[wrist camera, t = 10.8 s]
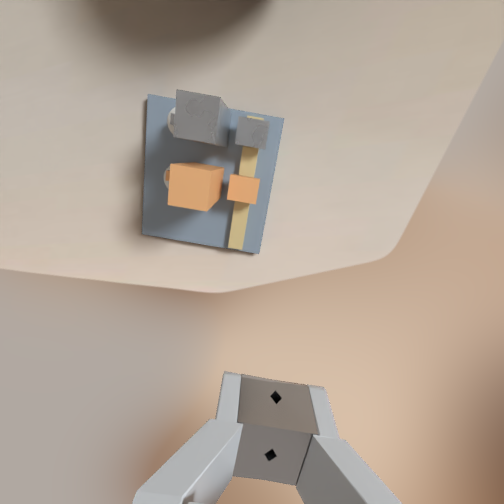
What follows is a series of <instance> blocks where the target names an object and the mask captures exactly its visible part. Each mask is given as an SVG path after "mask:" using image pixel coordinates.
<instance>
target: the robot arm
mask: <svg viewBox="0 0 504 504" xmlns="http://www.w3.org/2000/svg"><path fill="white" fill-rule="evenodd" d="M232 476H236V477H245V478H253V479H262V480H268V481H273V482H279V483H284V484H290V485H295V486H296V489H297V490H298V492H299V494H300V496H301V498H302V500H303V502H304V504H402V503H401V502H400V501H399V499H398V498H397V497H396V496H395V495H394V494H393V493H392V492H391V491H390V489H389V488H388V487H387V486H386V485H385V484H384V483H383V482H382V481H381V479H380V478H379V477H378V476H377V475H376V474H375V472H374V471H373V470H372V469H371V468H370V467H369V466H368V465H367V464H366V462H365V461H364V460H363V459H362V458H361V457H360V456H359V455H358V454H357V452H356V451H355V450H354V449H353V448H352V447H351V446H350V444H349V443H348V442H347V441H346V440H343V439H340V438H339V434H338V431H337V427H336V423H335V420H334V416H333V413H332V409H331V406H330V402H329V399H328V395H327V392H326V389H325V388H324V387H321V386H313V385H305V384H298V383H291V382H285V381H278V380H272V379H266V378H261V377H255V376H250V375H244V374H237V373H232V372H227V371H224V374H223V378H222V384H221V390H220V396H219V401H218V407H217V413H216V418H215V419H209V420H208V421H207V422H206V423H205V424H204V425H203V426H202V427H201V428H200V429H199V430H198V431H197V432H196V433H195V434H194V435H193V436H192V437H191V438H190V439H189V440H188V441H187V442H186V443H185V444H184V445H183V446H182V447H181V448H180V449H179V450H178V451H177V452H176V453H175V454H174V455H173V456H172V457H171V458H170V459H169V460H168V461H167V462H166V463H165V464H164V465H163V466H162V467H161V468H160V469H159V470H158V471H157V472H156V473H155V474H154V475H153V476H152V477H151V478H150V479H148V481H146V483H144V484H143V485H142V487H140V488H139V489H138V490H137V492H136V495H135V497H134V500H133V502H132V504H216V502H217V501H218V499H219V497H220V496H221V494H222V493H223V491H224V490H225V488H226V487H227V485H228V483H229V482H230V481H231V479H232Z"/></svg>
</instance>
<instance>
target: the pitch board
mask: <svg viewBox="0 0 504 504" xmlns="http://www.w3.org/2000/svg"><path fill="white" fill-rule="evenodd" d="M175 106H176V99H173V98H167V97H162V96H156V95H151V94H148V102H147V125H146V149H145V173H144V196H143V220H142V234H144V235H150V236H156V237H162V238H168V239H174V240H180V241H186V242H192V243H197V244H203V245H209V246H215V247H221V248H227V249H233V250H239V251H245V252H251V253H256V254H259V252H260V246H261V241H262V236H263V230H264V225H265V220H266V214H267V209H268V203H269V198H270V193H271V187H272V182H273V176H274V171H275V166H276V160H277V155H278V150H279V144H280V139H281V133H282V128H283V123H284V118H278V117H273V116H267V115H262V114H256V113H251V112H245V111H240V110H234V109H229V110H230V112H231V113H232V116H231V124H230V132H229V139H228V147H221V146H216V145H210V144H204V143H199V142H194V141H190V140H185V139H181V138H177V137H173V134H174V125H171V124H170V116H171V113H173V114H175ZM239 116H242V117H248V118H253V119H259V120H264V121H270V124H269V130H268V136H267V142H266V148H265V150H264V149H258V148H253V147H247V146H241V145H236V144H235V139H236V131H237V124H238V117H239ZM190 162H196V163H202V164H207V165H213V166H219V167H224V176H223V183H222V191H221V198H220V199H219V200H218V201H217V202H216V203H215V204H214V205H213V206H212V207H211V208H210V209H209V210H208V211H207V212H206V211H200V210H195V209H189V208H183V207H177V206H171V205H168V191H169V181H165V179H166V170H170V164H175V163H190ZM230 174H236V175H242V176H248V177H253V178H259V179H260V183H259V189H258V194H257V200H256V204H250V203H244V202H239V201H233V200H227V195H228V188H229V180H230Z"/></svg>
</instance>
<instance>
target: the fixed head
mask: <svg viewBox="0 0 504 504" xmlns="http://www.w3.org/2000/svg"><path fill="white" fill-rule="evenodd" d="M231 116H232V113H231V112H230V110H229V109H228V107H227V106H226V104H225V103H224V102H223V100H222V99H221V97H216V96H211V95H205V94H200V93H194V92H189V91H183V90H178V89H177V92H176V106H175V114H173V113H171V116H170V124H171V125H174V134H173V137H177V138H181V139H185V140H190V141H194V142H199V143H204V144H210V145H216V146H221V147H228V139H229V132H230V124H231ZM269 124H270V121H264V120H259V119H253V118H248V117H242V116H239V117H238V124H237V131H236V139H235V144H236V145H241V146H247V147H253V148H258V149H264V150H265V148H266V142H267V136H268V130H269Z"/></svg>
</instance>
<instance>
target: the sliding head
mask: <svg viewBox="0 0 504 504" xmlns="http://www.w3.org/2000/svg"><path fill="white" fill-rule="evenodd" d="M223 176H224V167H219V166H213V165H207V164H202V163H196V162H190V163H175V164H170V170H166V179H165V181H169V191H168V205H171V206H177V207H183V208H189V209H195V210H200V211H206V212H207V211H208V210H209V209H210V208H211V207H212V206H213V205H214V204H215V203H216V202H217V201H218V200H219V199H220V198H221V191H222V183H223ZM259 183H260V179H259V178H253V177H248V176H242V175H236V174H230V180H229V188H228V195H227V200H233V201H239V202H244V203H250V204H256V200H257V194H258V189H259Z"/></svg>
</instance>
